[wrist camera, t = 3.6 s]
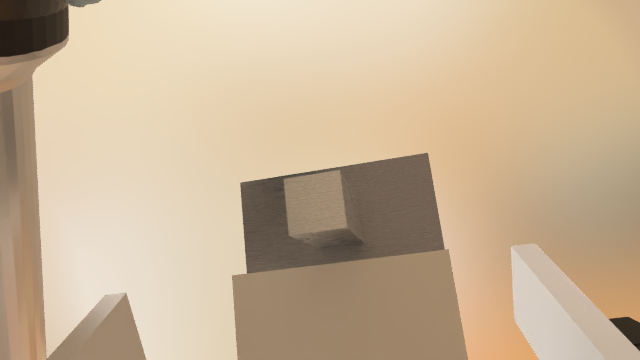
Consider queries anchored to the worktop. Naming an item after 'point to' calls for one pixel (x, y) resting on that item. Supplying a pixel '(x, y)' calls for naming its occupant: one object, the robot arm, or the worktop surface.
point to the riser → (351, 311)
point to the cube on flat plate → (341, 215)
